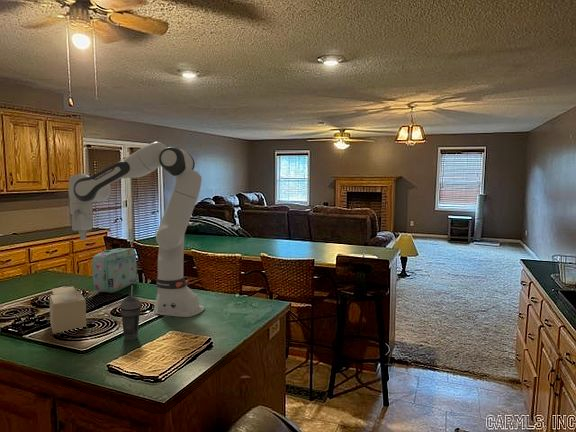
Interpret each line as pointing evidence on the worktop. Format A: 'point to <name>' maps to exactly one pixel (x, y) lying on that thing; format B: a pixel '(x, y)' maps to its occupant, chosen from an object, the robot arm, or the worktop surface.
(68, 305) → the mailer box
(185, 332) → the worktop surface
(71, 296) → the lid
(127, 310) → the beverage cup
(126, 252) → the lunch box
